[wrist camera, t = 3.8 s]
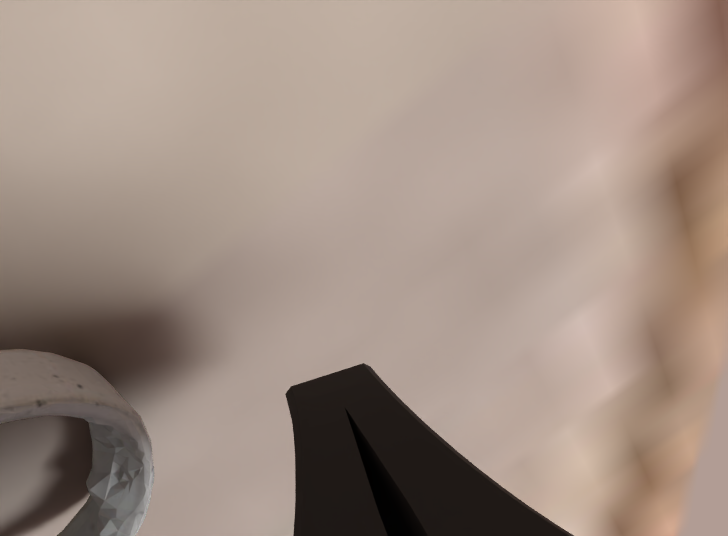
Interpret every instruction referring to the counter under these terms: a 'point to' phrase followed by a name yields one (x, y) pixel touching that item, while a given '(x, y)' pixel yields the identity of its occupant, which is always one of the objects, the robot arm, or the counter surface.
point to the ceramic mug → (107, 428)
